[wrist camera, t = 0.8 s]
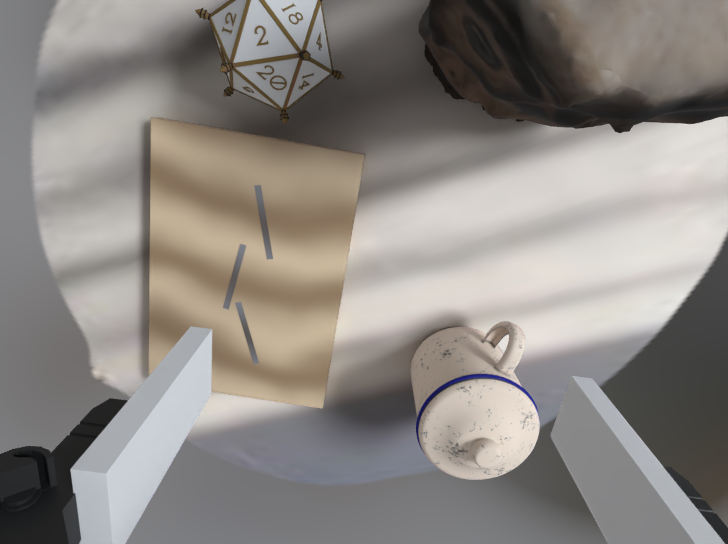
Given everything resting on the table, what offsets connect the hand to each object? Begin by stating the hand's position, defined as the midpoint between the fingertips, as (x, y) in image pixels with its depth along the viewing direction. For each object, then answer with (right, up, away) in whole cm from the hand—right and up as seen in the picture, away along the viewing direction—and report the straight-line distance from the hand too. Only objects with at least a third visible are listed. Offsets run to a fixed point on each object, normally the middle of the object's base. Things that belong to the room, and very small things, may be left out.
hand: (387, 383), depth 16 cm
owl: (+11, +21, +16) cm, 28 cm away
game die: (-7, +20, +16) cm, 27 cm away
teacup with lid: (+8, -3, +24) cm, 26 cm away
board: (-11, +4, +22) cm, 25 cm away
